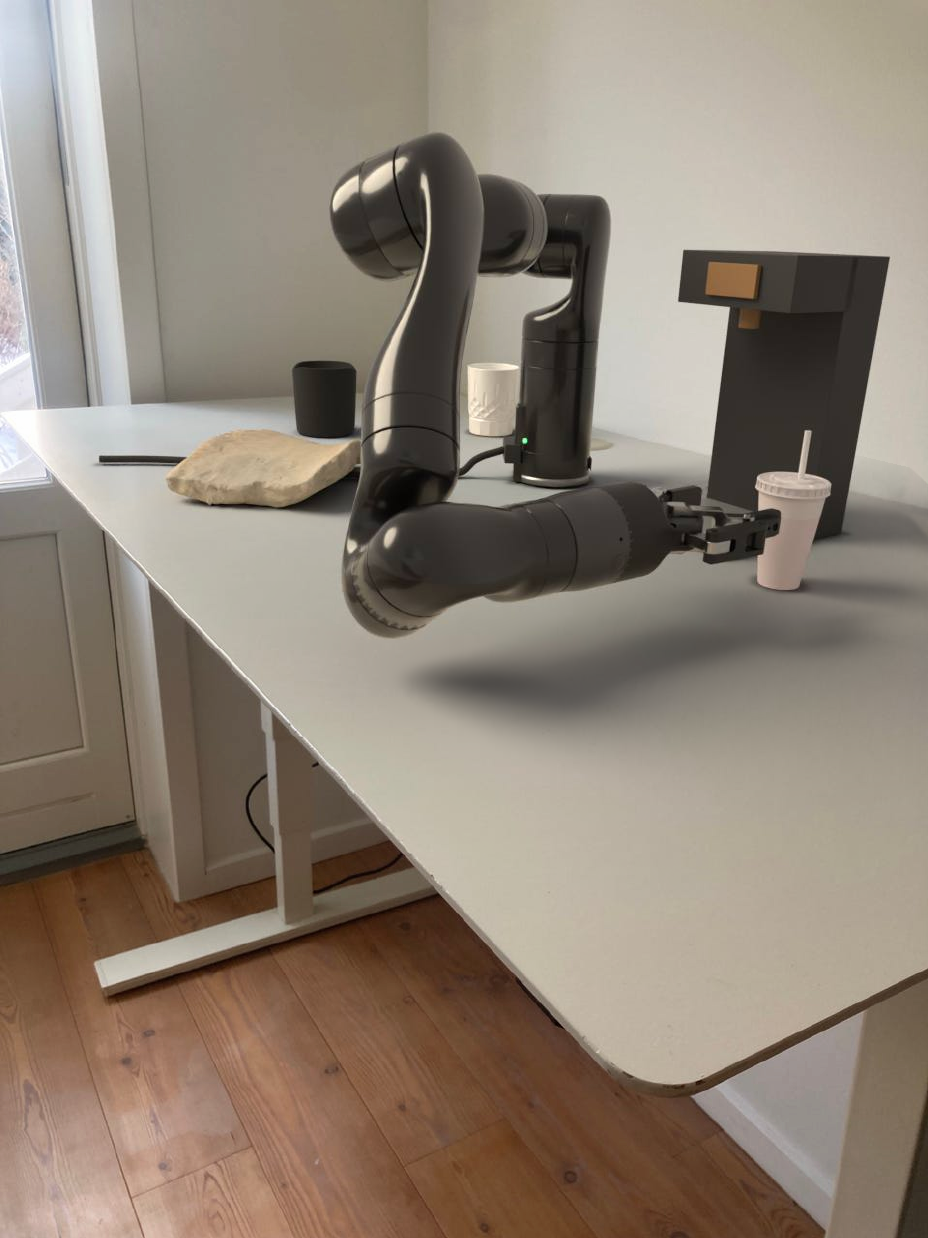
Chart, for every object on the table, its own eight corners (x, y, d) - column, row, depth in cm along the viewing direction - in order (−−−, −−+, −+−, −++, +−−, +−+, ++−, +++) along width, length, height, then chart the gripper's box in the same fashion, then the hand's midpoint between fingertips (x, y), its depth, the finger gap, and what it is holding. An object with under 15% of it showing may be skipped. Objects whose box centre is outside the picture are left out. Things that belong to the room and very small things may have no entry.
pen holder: (369, 431, 151) (369, 364, 147) (329, 441, 143) (328, 370, 140) (321, 424, 155) (320, 358, 152) (281, 433, 148) (278, 364, 144)
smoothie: (819, 598, 87) (846, 440, 82) (744, 591, 88) (766, 434, 83) (810, 575, 93) (835, 426, 88) (740, 569, 94) (760, 421, 89)
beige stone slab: (389, 474, 129) (245, 448, 132) (394, 417, 126) (246, 392, 129) (327, 531, 107) (156, 500, 110) (331, 464, 104) (155, 434, 107)
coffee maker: (728, 559, 97) (769, 254, 87) (628, 524, 107) (654, 248, 97) (841, 533, 107) (890, 256, 96) (739, 503, 117) (773, 251, 107)
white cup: (500, 439, 148) (503, 371, 144) (455, 433, 152) (457, 366, 148) (525, 431, 154) (529, 366, 151) (482, 425, 158) (484, 361, 154)
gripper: (665, 511, 68) (813, 483, 77) (536, 469, 79) (678, 449, 88) (654, 612, 71) (798, 574, 80) (531, 558, 82) (670, 530, 91)
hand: (735, 509), depth 84 cm, fingers open, 8 cm apart
